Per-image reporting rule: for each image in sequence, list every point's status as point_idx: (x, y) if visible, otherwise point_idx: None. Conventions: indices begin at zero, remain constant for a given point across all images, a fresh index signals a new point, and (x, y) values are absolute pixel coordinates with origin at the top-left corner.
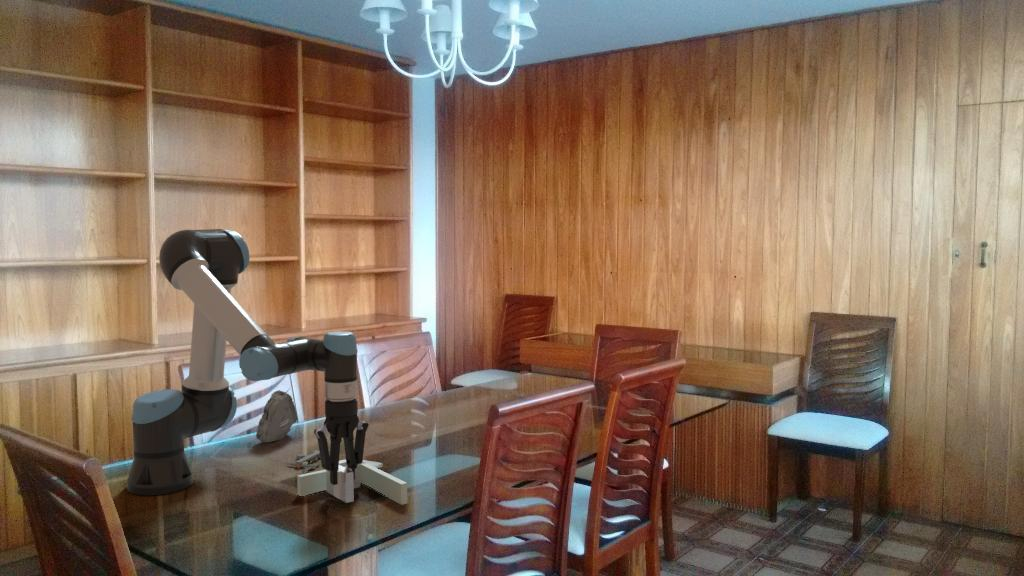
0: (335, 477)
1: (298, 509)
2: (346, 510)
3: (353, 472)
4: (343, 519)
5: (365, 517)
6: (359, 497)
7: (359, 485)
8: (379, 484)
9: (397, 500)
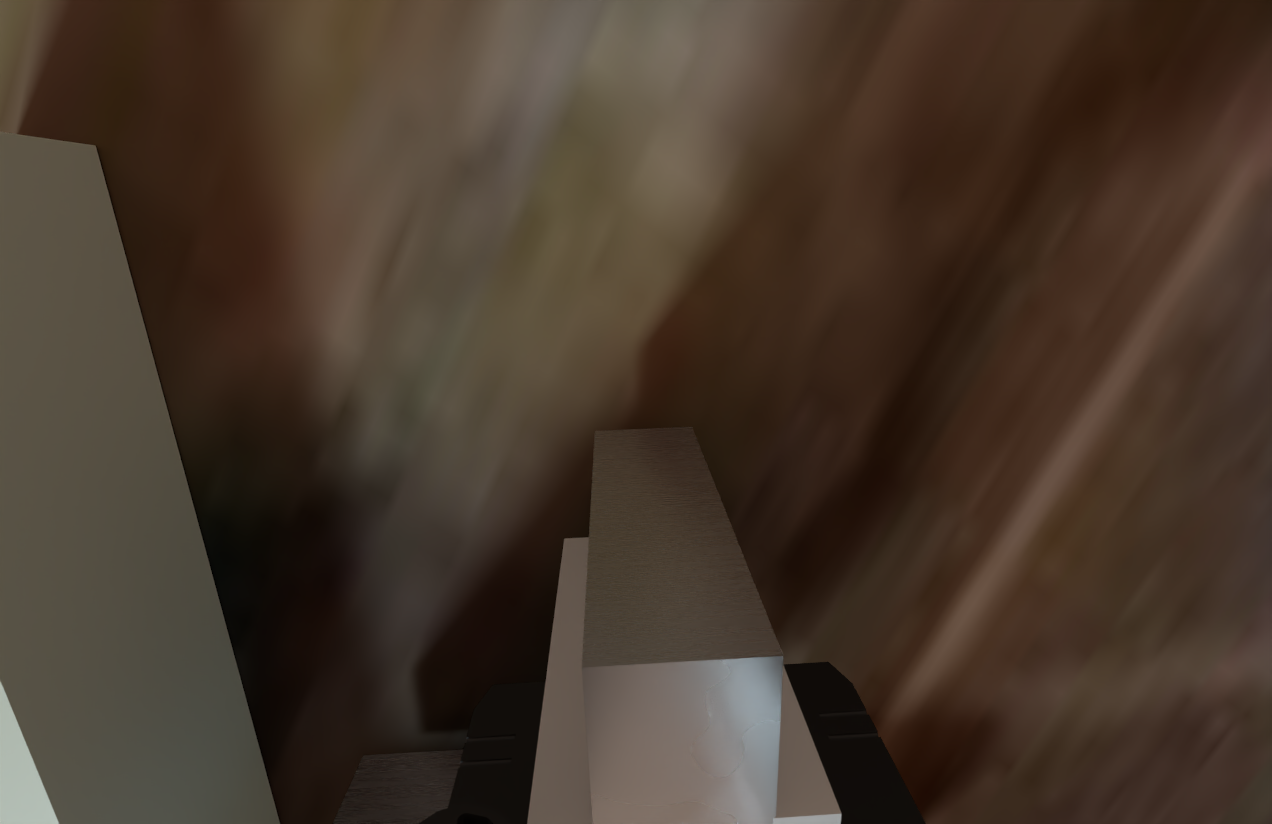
0: (834, 753)
1: (1022, 626)
2: (702, 364)
3: (481, 791)
4: (855, 136)
5: (632, 31)
6: (440, 606)
7: (365, 769)
8: (156, 663)
9: (99, 239)
